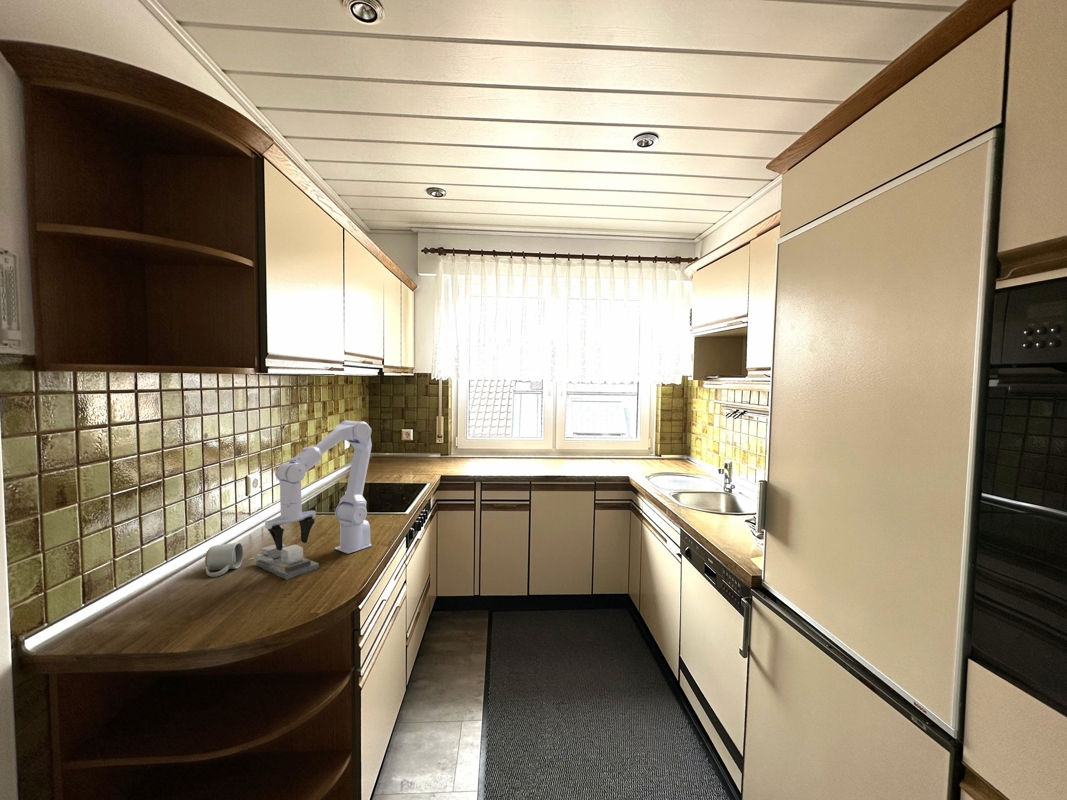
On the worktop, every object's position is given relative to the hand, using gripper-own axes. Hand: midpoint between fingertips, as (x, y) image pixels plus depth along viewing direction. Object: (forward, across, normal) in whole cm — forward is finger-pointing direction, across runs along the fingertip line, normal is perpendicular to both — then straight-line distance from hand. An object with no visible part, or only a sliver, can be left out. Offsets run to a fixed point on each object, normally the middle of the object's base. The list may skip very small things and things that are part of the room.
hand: (292, 545), depth 142 cm
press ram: (+5, 0, -11) cm, 12 cm away
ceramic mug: (+8, +12, -17) cm, 22 cm away
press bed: (+7, 0, -3) cm, 8 cm away
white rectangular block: (+6, 0, 0) cm, 6 cm away
